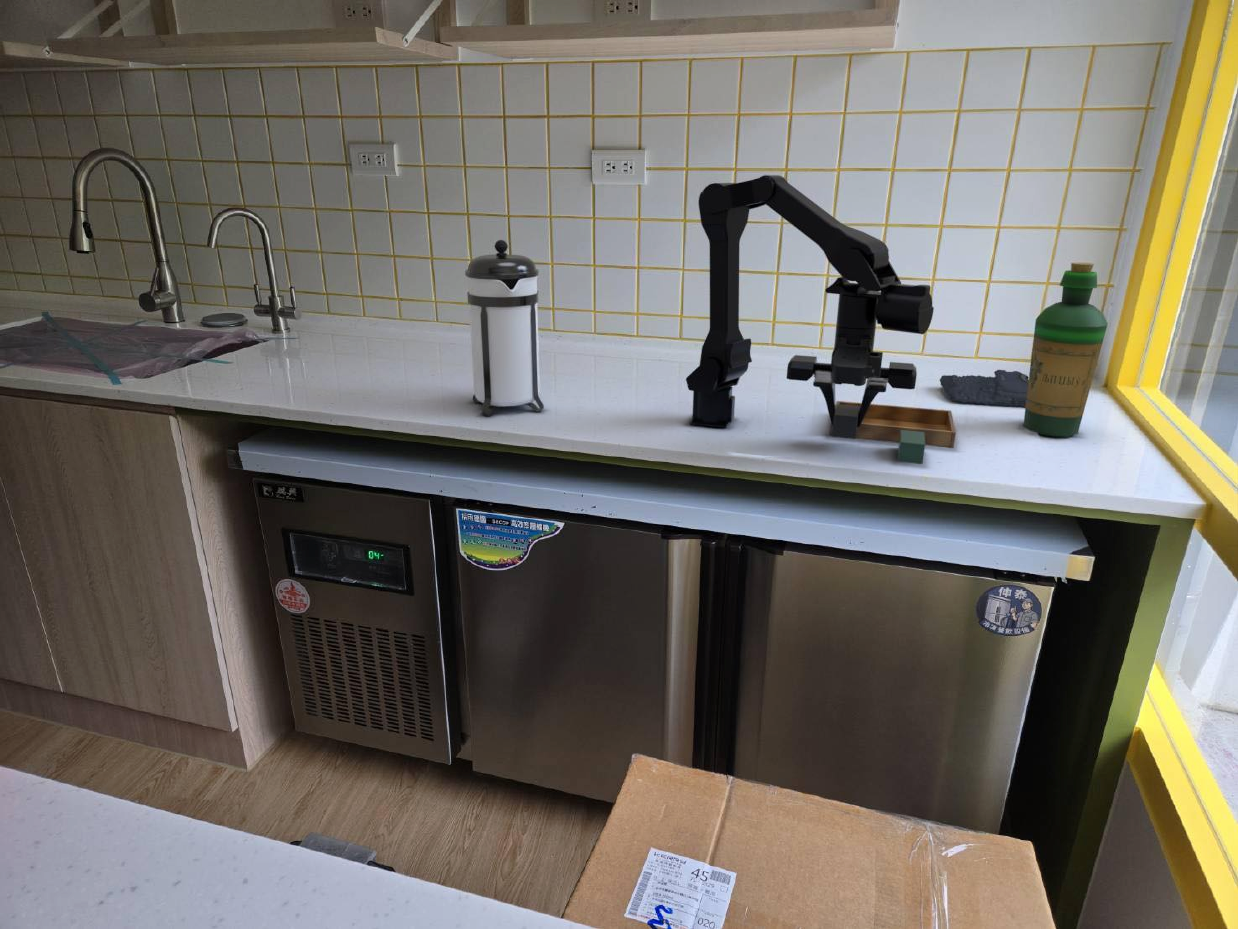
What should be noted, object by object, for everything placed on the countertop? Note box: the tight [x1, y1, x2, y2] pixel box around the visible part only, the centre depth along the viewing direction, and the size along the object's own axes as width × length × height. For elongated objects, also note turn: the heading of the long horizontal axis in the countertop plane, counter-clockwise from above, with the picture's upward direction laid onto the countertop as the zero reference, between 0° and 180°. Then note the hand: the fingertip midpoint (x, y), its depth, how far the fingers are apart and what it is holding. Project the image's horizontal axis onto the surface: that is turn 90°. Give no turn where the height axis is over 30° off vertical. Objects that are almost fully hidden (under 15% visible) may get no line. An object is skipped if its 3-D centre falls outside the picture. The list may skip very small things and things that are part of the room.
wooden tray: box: [829, 400, 957, 449], centre depth 138 cm, size 19×13×3 cm
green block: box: [897, 430, 926, 464], centre depth 126 cm, size 4×6×4 cm, turn 162°
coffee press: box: [464, 239, 545, 417], centre depth 148 cm, size 17×16×30 cm
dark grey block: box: [831, 404, 860, 440], centre depth 127 cm, size 4×6×4 cm, turn 162°
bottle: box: [1022, 262, 1109, 438], centre depth 135 cm, size 11×11×28 cm
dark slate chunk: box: [939, 369, 1029, 408], centre depth 161 cm, size 15×22×5 cm
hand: (845, 425), depth 128 cm, fingers closed on dark grey block, 3 cm apart
